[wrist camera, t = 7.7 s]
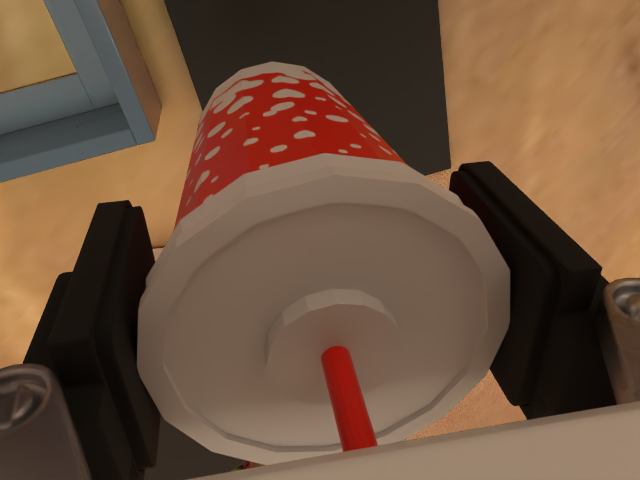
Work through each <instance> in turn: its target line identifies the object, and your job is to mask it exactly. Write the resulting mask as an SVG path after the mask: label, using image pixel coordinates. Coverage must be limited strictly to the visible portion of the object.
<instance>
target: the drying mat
mask: <svg viewBox="0 0 640 480" xmlns="http://www.w3.org/2000/svg"><path fill="white" fill-rule="evenodd" d="M164 1H165V4H166V7H167V10H168V12H169V15H170V18H171V21H172V24H173V27H174V30H175V32H176V35H177V38H178V41H179V44H180V47H181V50H182V52H183V55H184V58H185V61H186V64H187V67H188V69H189V72H190V75H191V78H192V81H193V84H194V87H195V89H196V92H197V95H198V98H199V101H200V104H201V107H202V109H203V111H204V109H205V107H206V105H207V103H208V102H209V100H210V98H211V96H212V94H213V93H214V91H215V89H216V88H217V87H219V86H220V85H221V84H222V83H224V82H225V81H226V80H228V79H229V78H230V77H232V76H233V75H234V74H236V73H237V72H238V71H239V70H241V69H245V68H248V67H252V66H256V65H260V64H264V63H268V62H272V61H273V62H279V63H285V64H292V65H298V66H304V67H306V68H307V69H309V70H310V71H312V72H314V73H315V74H317V75H318V76H320V77H321V78H323V79H325V80H326V81H328V82H329V83H330V84H331V85H332V86H333V87H334V88H335V89H336V90H337V91H338V92H339V93H340V94H341V95H342V96H343V97H344V98H345V99H346V100H347V102H348V103H349V104H350V105H351V106H352V107H353V108H354V109H355V110H356V111H357V112H358V113H359V114H360V115H361V116H362V117H363V118H364V120H365V121H366V122H367V123H368V124H369V125H370V126H371V127H372V128H373V129H374V130H375V131H376V132H377V133H378V134H379V135H380V136H381V138H382V139H383V140H384V141H385V142H386V143H387V144H388V145H389V146H390V147H391V148H392V149H393V150H394V151H395V152H396V153H397V155H398V156H399V157H400V158H401V159H402V160H403V161H404V162H405V163H406V164H407V165H408V166H409V167H410V168H412V169H414V170H416V171H417V172H419V173H421V174H422V175H424V176H425V175H429V174H432V173H436V172H439V171H443V170H447V169H450V168H451V161H450V148H449V136H448V123H447V111H446V98H445V86H444V73H443V61H442V49H441V36H440V24H439V11H438V0H164Z"/></svg>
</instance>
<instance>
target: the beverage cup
mask: <svg viewBox="0 0 640 480" xmlns="http://www.w3.org/2000/svg"><path fill="white" fill-rule="evenodd" d="M509 322H510V269H509V267H508V266H507V264H506V262H505V261H504V259H503V257H502V256H501V254H500V252H499V250H498V249H497V247H496V245H495V244H494V242H493V240H492V238H491V237H490V235H489V233H488V232H487V230H486V228H485V227H484V225H483V223H482V221H481V220H480V218H479V217H478V216H477V215H476V214H475V213H474V211H473V210H471V209H470V208H468V207H466V206H465V205H463V203H462V202H461V200H460V198H459V197H458V195H456V194H454V193H452V192H451V191H449V190H447V189H446V188H444V187H442V186H441V185H439V184H437V183H436V182H434V181H432V180H431V179H429V178H427V177H426V176H424V175H422V174H421V173H419V172H417V171H416V170H414V169H412V168H410V167H409V166H408V165H407V164H406V163H405V162H404V161H403V160H402V159H401V158H400V157H399V156H398V155H397V153H396V152H395V151H394V150H393V149H392V148H391V147H390V146H389V145H388V144H387V143H386V142H385V141H384V140H383V139H382V138H381V136H380V135H379V134H378V133H377V132H376V131H375V130H374V129H373V128H372V127H371V126H370V125H369V124H368V123H367V122H366V121H365V120H364V118H363V117H362V116H361V115H360V114H359V113H358V112H357V111H356V110H355V109H354V108H353V107H352V106H351V105H350V104H349V103H348V102H347V100H346V99H345V98H344V97H343V96H342V95H341V94H340V93H339V92H338V91H337V90H336V89H335V88H334V87H333V86H332V85H331V84H330V83H329V82H328V81H326V80H325V79H323V78H321V77H320V76H318V75H317V74H315V73H314V72H312V71H310V70H309V69H307V68H306V67H304V66H298V65H292V64H285V63H279V62H273V61H272V62H268V63H264V64H260V65H256V66H252V67H248V68H245V69H241V70H239V71H238V72H237V73H236V74H234V75H233V76H232V77H230V78H229V79H228V80H226V81H225V82H224V83H222V84H221V85H220V86H219V87H217V88H216V89H215V91H214V93H213V94H212V96H211V98H210V100H209V102H208V103H207V105H206V107H205V109H204V111H203V112H202V114H201V117H200V121H199V125H198V129H197V134H196V138H195V142H194V146H193V151H192V155H191V159H190V164H189V168H188V172H187V176H186V181H185V185H184V189H183V193H182V198H181V202H180V206H179V210H178V215H177V219H176V223H175V227H174V231H173V233H172V235H171V236H170V238H169V240H168V241H167V243H166V245H165V247H164V248H163V250H162V252H161V253H160V255H159V257H158V259H157V260H156V262H155V264H154V265H153V267H152V269H151V271H150V272H149V274H148V276H147V277H146V290H145V292H144V293H143V295H142V297H141V298H140V304H139V309H138V340H137V369H138V372H139V375H140V378H141V380H142V382H143V383H144V385H145V387H146V389H147V390H148V392H149V394H150V395H151V397H152V399H153V401H154V402H155V404H156V406H157V408H158V409H159V411H160V413H161V415H162V416H163V418H164V420H165V421H167V422H168V423H170V424H171V425H173V426H174V427H176V428H177V429H179V430H180V431H182V432H183V433H185V434H186V435H188V436H189V437H191V438H192V439H194V440H195V441H197V442H198V443H200V444H201V445H203V446H204V447H206V448H207V449H209V450H210V451H212V452H215V453H219V454H223V455H227V456H231V457H235V458H239V459H243V460H247V461H251V462H255V463H259V464H263V465H271V464H277V463H282V462H288V461H293V460H299V459H305V458H310V457H316V456H322V455H327V454H333V453H339V452H345V451H350V450H356V449H362V448H368V447H373V446H379V445H385V444H390V443H396V442H401V441H403V440H405V439H407V438H409V437H410V436H412V435H414V434H416V433H417V432H419V431H421V430H423V429H424V428H426V427H428V426H430V425H431V424H433V423H435V422H437V421H439V420H440V419H442V418H444V417H445V416H446V415H447V414H448V413H449V412H450V411H451V410H452V409H453V408H454V407H455V406H456V405H457V404H458V403H459V402H460V401H461V400H462V399H463V398H464V397H465V396H466V395H467V394H468V393H469V392H470V391H471V390H472V389H473V388H474V387H475V386H476V385H477V384H478V383H479V382H480V381H481V380H482V379H483V378H484V377H485V376H486V374H487V372H488V370H489V368H490V366H491V364H492V362H493V360H494V357H495V355H496V353H497V351H498V349H499V347H500V345H501V343H502V341H503V339H504V337H505V334H506V332H507V330H508V327H509Z"/></svg>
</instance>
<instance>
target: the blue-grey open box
mask: <svg viewBox="0 0 640 480" xmlns="http://www.w3.org/2000/svg"><path fill="white" fill-rule="evenodd" d="M44 2H45V5H46V7H47V9H48V11H49V13H50V15H51V17H52V19H53V22H54V24H55V26H56V28H57V30H58V32H59V34H60V37H61V39H62V41H63V43H64V45H65V47H66V49H67V51H68V54H69V56H70V58H71V60H72V62H73V64H74V66H75V68H76V71H77V73H74V74H71V75H67V76H63V77H59V78H56V79H52V80H48V81H44V82H41V83H37V84H33V85H29V86H26V87H22V88H18V89H15V90H11V91H7V92H3V93H0V183H1V182H5V181H8V180H12V179H16V178H19V177H23V176H26V175H30V174H34V173H37V172H41V171H45V170H48V169H52V168H56V167H59V166H63V165H67V164H70V163H74V162H78V161H81V160H85V159H89V158H92V157H96V156H100V155H103V154H107V153H111V152H114V151H118V150H122V149H125V148H129V147H133V146H136V145H141V144H144V143H148V142H152V141H155V140H156V135H157V130H158V124H159V119H160V114H161V109H162V105H161V103H160V100H159V98H158V95H157V93H156V90H155V88H154V85H153V83H152V80H151V78H150V75H149V72H148V70H147V67H146V65H145V62H144V60H143V57H142V55H141V52H140V50H139V47H138V45H137V42H136V39H135V37H134V34H133V32H132V29H131V27H130V24H129V22H128V19H127V17H126V14H125V12H124V9H123V6H122V4H121V1H120V0H44Z"/></svg>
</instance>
